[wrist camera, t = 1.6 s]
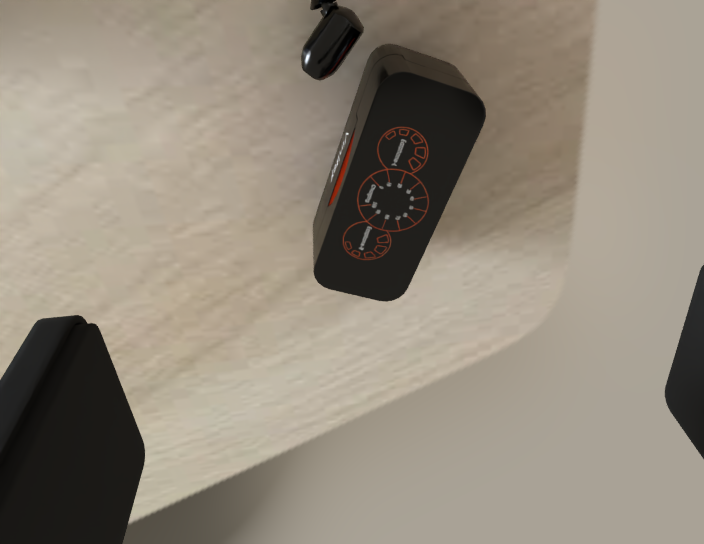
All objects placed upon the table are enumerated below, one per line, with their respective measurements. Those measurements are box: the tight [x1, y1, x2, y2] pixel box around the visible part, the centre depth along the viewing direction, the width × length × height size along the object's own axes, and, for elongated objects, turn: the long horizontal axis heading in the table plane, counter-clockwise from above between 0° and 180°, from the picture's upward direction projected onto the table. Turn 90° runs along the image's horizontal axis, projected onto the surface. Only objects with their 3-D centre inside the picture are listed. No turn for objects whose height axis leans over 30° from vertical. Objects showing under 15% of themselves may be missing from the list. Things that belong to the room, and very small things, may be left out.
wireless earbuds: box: [301, 0, 486, 301], centre depth 16 cm, size 5×7×3 cm, turn 161°
